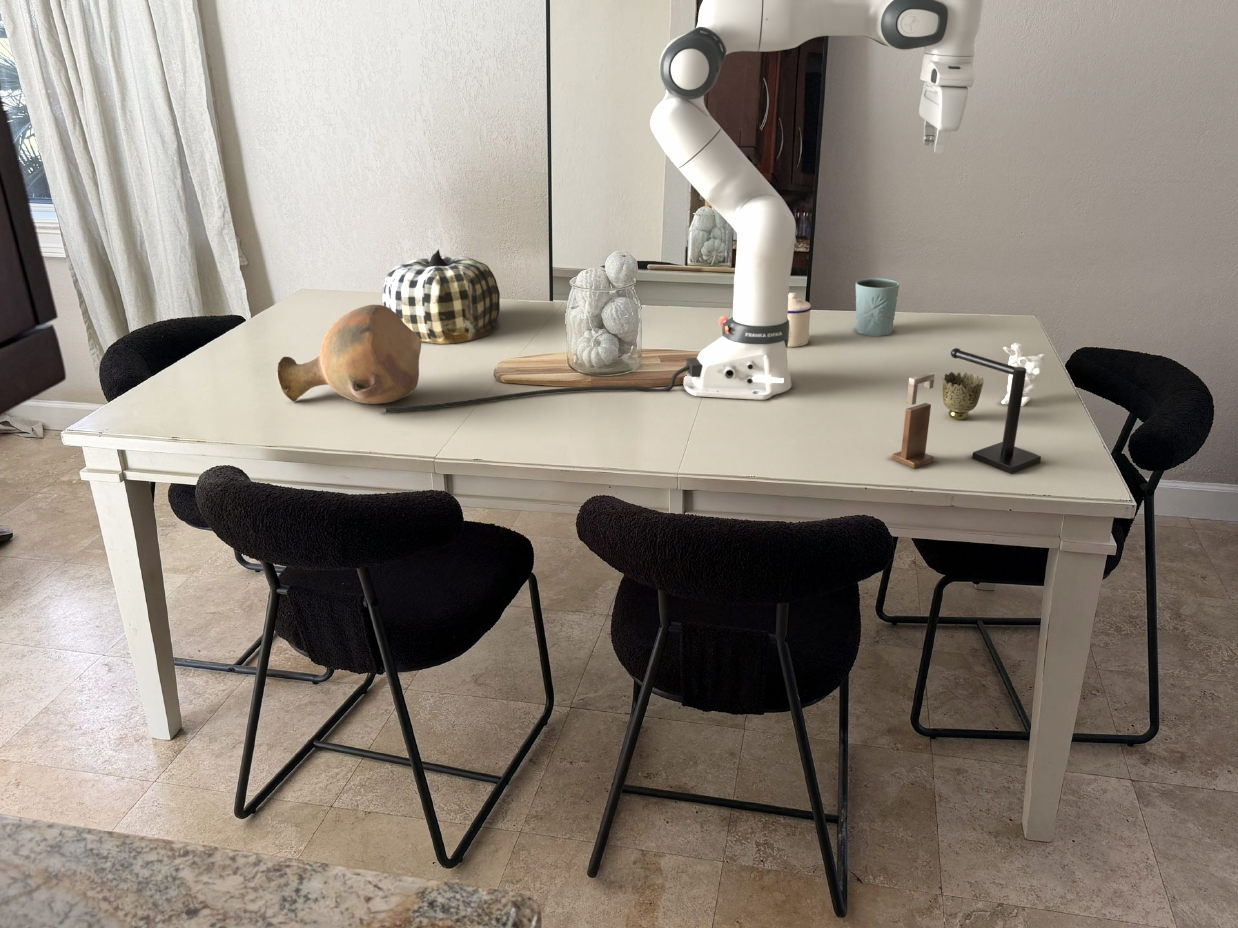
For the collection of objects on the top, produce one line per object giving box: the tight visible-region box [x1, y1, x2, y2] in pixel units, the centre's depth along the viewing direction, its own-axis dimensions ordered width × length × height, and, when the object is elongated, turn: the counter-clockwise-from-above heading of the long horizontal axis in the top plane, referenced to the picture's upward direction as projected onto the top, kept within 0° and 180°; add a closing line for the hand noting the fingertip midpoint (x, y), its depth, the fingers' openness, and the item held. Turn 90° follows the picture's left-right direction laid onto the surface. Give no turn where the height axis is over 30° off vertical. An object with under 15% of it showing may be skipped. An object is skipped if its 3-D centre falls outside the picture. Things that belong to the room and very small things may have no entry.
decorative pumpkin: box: [381, 248, 501, 345], centre depth 250 cm, size 30×29×20 cm
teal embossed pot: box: [855, 277, 900, 337], centre depth 244 cm, size 10×10×12 cm
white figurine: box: [1000, 342, 1046, 407], centre depth 198 cm, size 8×7×12 cm
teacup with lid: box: [787, 292, 812, 348], centre depth 237 cm, size 12×9×12 cm
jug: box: [276, 304, 422, 405], centre depth 203 cm, size 20×20×30 cm
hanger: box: [891, 371, 935, 469], centre depth 172 cm, size 5×5×16 cm
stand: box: [950, 347, 1042, 475], centre depth 175 cm, size 8×18×17 cm, turn 34°
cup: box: [941, 371, 985, 421], centre depth 192 cm, size 8×7×8 cm
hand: (933, 149), depth 192 cm, fingers open, 8 cm apart
